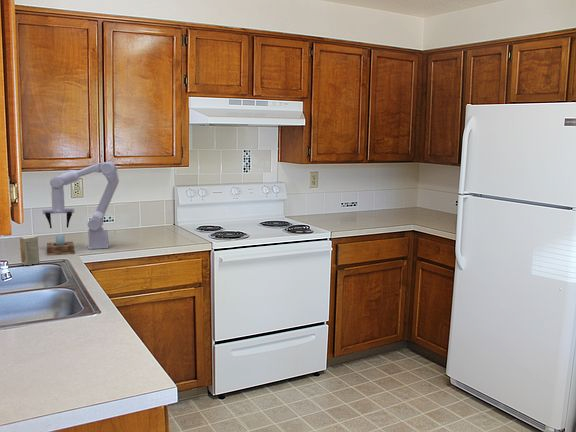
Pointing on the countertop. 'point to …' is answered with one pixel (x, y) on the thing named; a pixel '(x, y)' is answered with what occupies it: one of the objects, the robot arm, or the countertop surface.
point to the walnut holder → (60, 248)
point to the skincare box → (29, 250)
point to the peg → (60, 240)
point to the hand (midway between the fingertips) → (59, 227)
